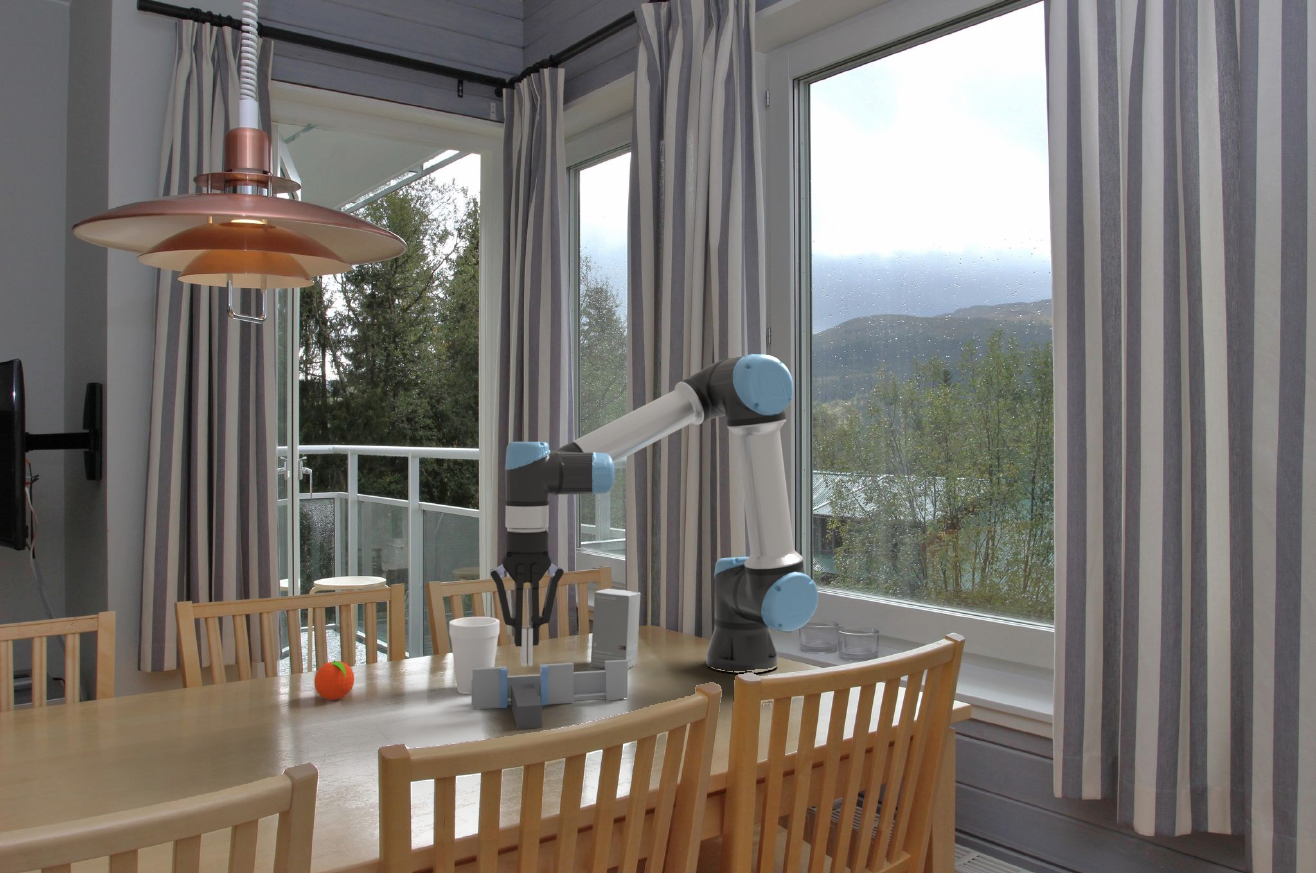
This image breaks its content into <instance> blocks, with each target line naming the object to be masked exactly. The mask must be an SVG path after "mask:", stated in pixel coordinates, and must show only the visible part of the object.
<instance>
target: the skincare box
mask: <svg viewBox="0 0 1316 873" xmlns="http://www.w3.org/2000/svg"><path fill="white" fill-rule="evenodd" d="M641 594H642V593H641V592H637V591H631V590H626V589H625V590H624V589H614V588H613V589H612V588H605V589H601V590H596V591H595V592H594V600H593V602H594V604H593V620H592V634H591V652H590V657H591V658H590V666H591V668H596V667H597V669H605V661H610V660H627V661H628V670H629V669H631V668H633V667H635V666H637V665H636V664H638V649H639V648H638V647H639V646H638V645H639V642H638V641H639V631H640V630H639V627H640V626H639V625H640V607H641ZM632 666H633V667H632ZM630 667H631V668H630Z"/></svg>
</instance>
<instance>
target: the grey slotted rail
mask: <svg viewBox="0 0 1316 873" xmlns="http://www.w3.org/2000/svg"><path fill="white" fill-rule="evenodd" d="M628 670H629V669H628V661H627V660H610V661H605V668H604V670H589V671H575V666H574V663H573V662H560V663H544V664H543V663H542V664H539V673H537V674H522V675H521V674H519V675H518V674H517V675H508V673H509V672H508V671H509V669H508V666H507V665H506V666H505V665H504V666H494V667H485V668H472V691H471V694H470V695H471V707H472V708H471V709H472V710H482V709H484V710H486V709H498V708H499V709H507V708H508V706H511V685H524V684H534V686H535V689H536V691H537V694H538V696H539V699H540V701H541V704H542V706H548V705H561V704H571V703H572V704H574V703H575V702H574V701H593V700H594V701H595V700H605V701H618V700H619V699H622V700H625V699H624V698H628V692H629V691H628V689H629V688H628V686H629V684H628V683H629V681H628V673H629V671H628ZM628 699H629V698H628Z"/></svg>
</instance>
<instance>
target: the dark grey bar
mask: <svg viewBox="0 0 1316 873" xmlns="http://www.w3.org/2000/svg"><path fill="white" fill-rule="evenodd" d="M510 708H511V711H512V714H513V718H514V721H515V725H516V728H517V730H524V729H538V728H539V729H541V728H543V705H542V704H541V701H540V699H539V696H538V694H537V691H536V689H535V686H534V684H524V685H511V705H510Z"/></svg>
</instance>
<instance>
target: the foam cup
mask: <svg viewBox="0 0 1316 873" xmlns="http://www.w3.org/2000/svg"><path fill="white" fill-rule="evenodd" d="M500 623H501V622H500V619H498V618H495V617H489V616H469V617H468V616H467V617H460V618H455V619H452V620H450V621H449V625H448V626H449V629H448V630H449V631H448V632H449V633H448V634H449V637H450V641H451V647H452V648H451V649H452V657H453V665H454V672H455V674H454V675H455V681H456V688H457V693H460V694H463V695H471V691H472V668H485V667H495V661H496V655H497V647H498V639H499V634H500V625H501V624H500Z"/></svg>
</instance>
